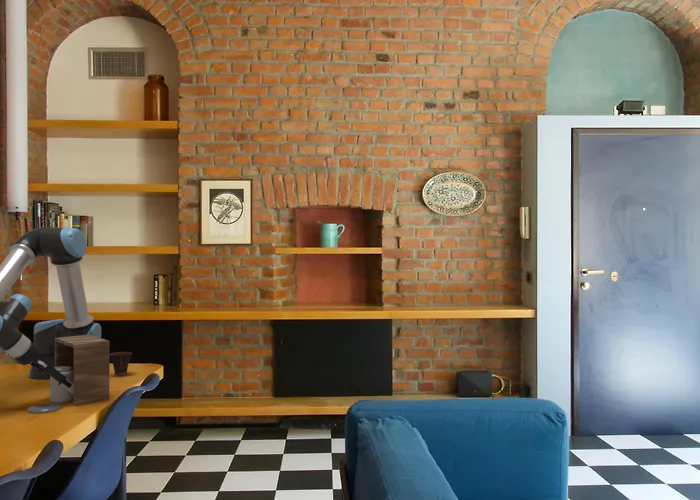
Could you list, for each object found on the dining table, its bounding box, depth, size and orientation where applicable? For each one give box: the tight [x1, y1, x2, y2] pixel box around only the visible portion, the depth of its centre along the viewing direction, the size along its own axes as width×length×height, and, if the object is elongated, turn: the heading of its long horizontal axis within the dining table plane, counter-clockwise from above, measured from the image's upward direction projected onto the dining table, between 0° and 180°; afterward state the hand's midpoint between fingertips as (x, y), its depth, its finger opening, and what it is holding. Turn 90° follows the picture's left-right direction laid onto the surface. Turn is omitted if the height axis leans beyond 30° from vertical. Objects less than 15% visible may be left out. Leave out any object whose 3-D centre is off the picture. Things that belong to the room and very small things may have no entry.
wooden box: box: [55, 335, 111, 407], centre depth 220 cm, size 19×12×21 cm, turn 45°
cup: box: [110, 351, 133, 377], centre depth 256 cm, size 9×9×10 cm
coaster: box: [27, 403, 62, 415], centre depth 204 cm, size 10×10×1 cm
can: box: [49, 366, 73, 404], centre depth 215 cm, size 8×8×12 cm
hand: (71, 389), depth 217 cm, fingers open, 8 cm apart
